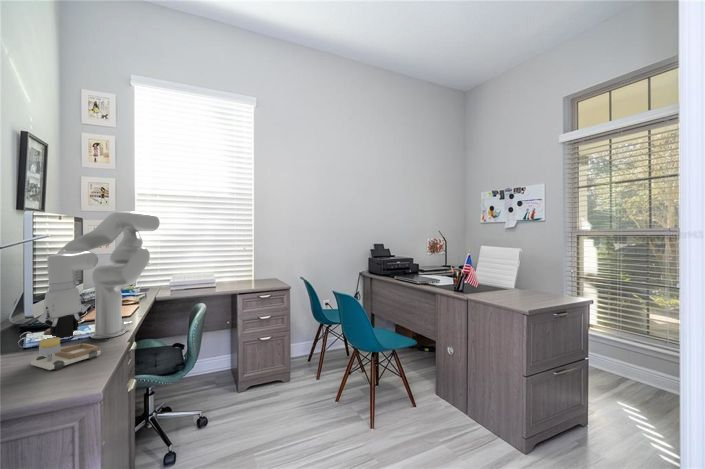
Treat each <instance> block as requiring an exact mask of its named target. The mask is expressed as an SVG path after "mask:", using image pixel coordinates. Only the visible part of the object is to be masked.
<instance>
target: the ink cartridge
mask: <svg viewBox="0 0 705 469" xmlns="http://www.w3.org/2000/svg"><path fill="white" fill-rule="evenodd" d="M56 325H57V326H58V332H59V335H58V336H56V337H59V338H64V337H70V336H73V315H67V316H63V317H59V318H58V321H57V324H56Z"/></svg>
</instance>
